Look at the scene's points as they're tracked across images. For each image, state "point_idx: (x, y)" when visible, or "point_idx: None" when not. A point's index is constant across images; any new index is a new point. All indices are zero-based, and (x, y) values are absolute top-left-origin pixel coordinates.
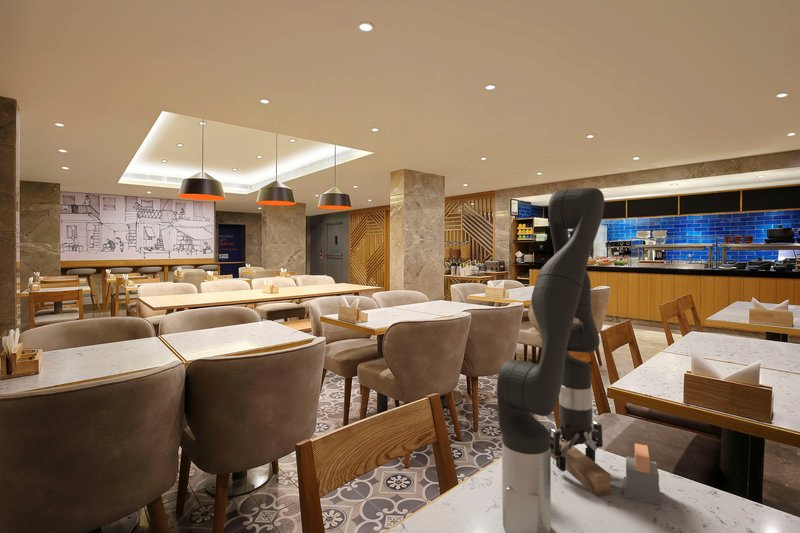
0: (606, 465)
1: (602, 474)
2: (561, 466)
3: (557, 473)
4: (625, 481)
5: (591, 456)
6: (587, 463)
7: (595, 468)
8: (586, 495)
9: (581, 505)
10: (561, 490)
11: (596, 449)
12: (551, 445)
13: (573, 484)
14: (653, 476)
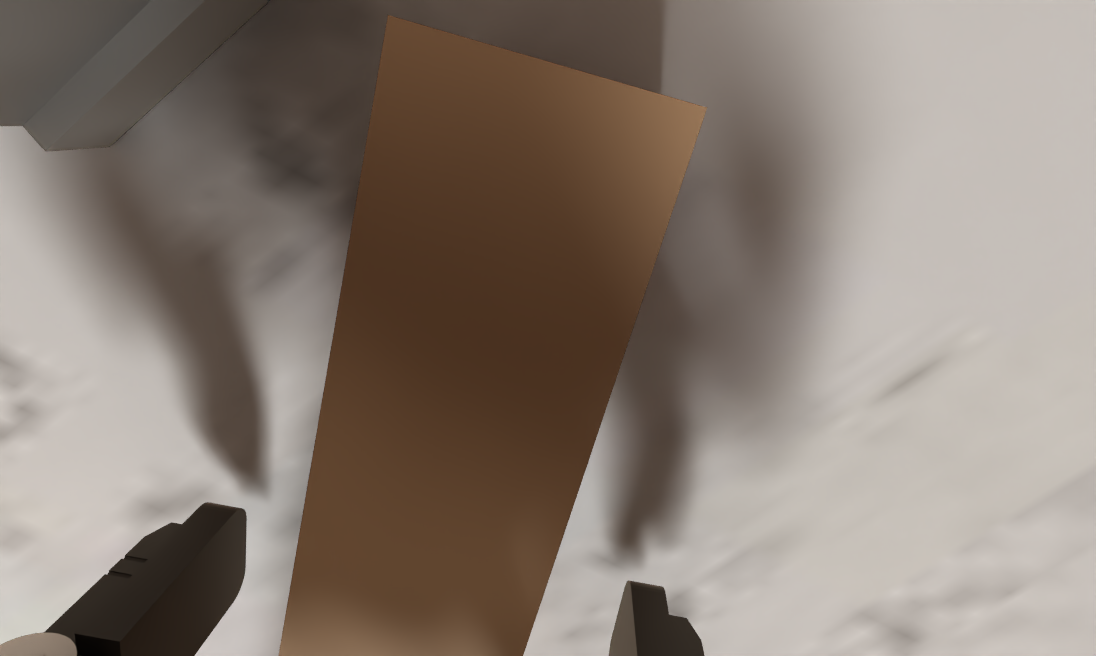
0: (34, 463)
1: (541, 97)
2: (674, 644)
3: None
4: (112, 55)
5: (171, 591)
6: (462, 477)
7: (475, 309)
8: (741, 194)
9: (990, 82)
10: (896, 397)
11: (4, 645)
12: None
13: (673, 407)
14: None
